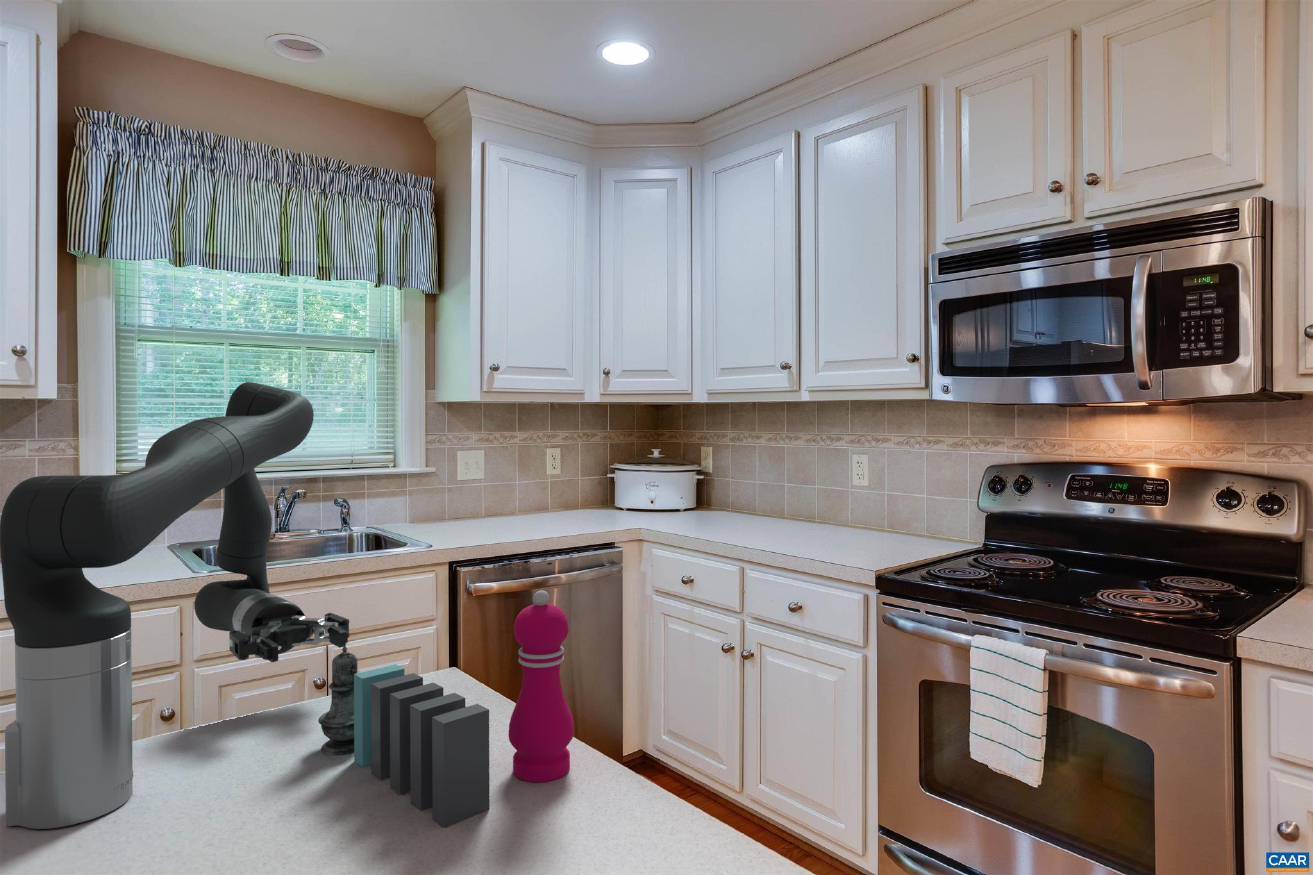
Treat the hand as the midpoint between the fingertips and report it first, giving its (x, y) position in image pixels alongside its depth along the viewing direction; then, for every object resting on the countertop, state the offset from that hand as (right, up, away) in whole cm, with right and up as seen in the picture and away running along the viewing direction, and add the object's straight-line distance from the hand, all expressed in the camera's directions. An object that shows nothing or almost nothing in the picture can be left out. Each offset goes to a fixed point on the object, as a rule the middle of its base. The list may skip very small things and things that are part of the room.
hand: (310, 646), depth 98 cm
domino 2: (+16, -10, -14) cm, 24 cm away
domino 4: (+23, -10, -21) cm, 32 cm away
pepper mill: (+32, -10, -14) cm, 37 cm away
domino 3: (+20, -10, -18) cm, 28 cm away
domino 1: (+13, -10, -11) cm, 20 cm away
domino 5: (+26, -10, -24) cm, 37 cm away
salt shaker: (+8, -10, -8) cm, 15 cm away
